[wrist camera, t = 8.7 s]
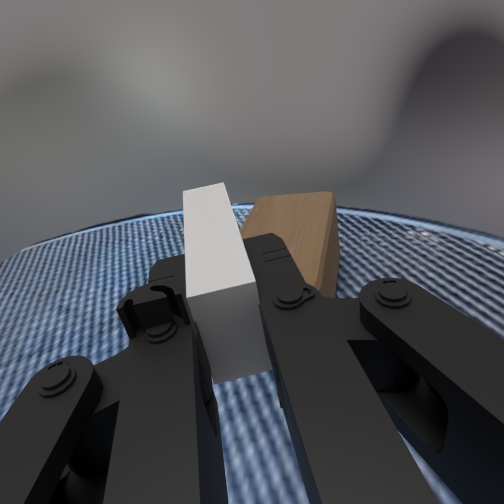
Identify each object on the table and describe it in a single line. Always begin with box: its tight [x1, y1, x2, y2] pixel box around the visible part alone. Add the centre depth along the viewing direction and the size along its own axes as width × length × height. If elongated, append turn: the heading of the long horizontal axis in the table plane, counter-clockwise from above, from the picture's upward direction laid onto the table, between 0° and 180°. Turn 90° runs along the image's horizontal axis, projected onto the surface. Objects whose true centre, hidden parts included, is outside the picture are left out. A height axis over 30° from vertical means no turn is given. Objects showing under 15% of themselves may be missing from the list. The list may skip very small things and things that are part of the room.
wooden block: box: [239, 192, 340, 298], centre depth 41 cm, size 10×10×20 cm
